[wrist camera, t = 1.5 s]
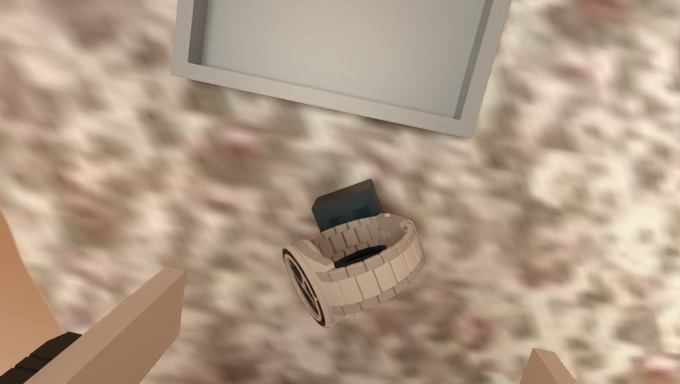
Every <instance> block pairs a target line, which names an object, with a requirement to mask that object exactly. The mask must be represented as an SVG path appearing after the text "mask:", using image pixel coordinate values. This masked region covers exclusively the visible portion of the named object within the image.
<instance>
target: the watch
mask: <svg viewBox="0 0 680 384" xmlns="http://www.w3.org/2000/svg"><path fill="white" fill-rule="evenodd" d="M312 212H313V214H314V217H315V219H316V222H317V224H318V227H319V229H320V231H321V233H319V234H317V235H315V236H314V237H312V238H310V239H309V240H306V239H301V240H299V241H297V242H295V243H293V244H291V245H286V246H284V247H283V249H282V251H283V258H284V262H285V265H286V268H287V270H288V273H289V275H290V277H291V280H292V282H293V284H294V286H295V288H296V290H297V292H298V294H299V296H300V298H301V299H302V301H303V303H304V304H305V306H306V308H307V309H308V311H309V312H310V314H311V315H312V316H313V318H314V319H315V320H316V321H317V322H318V323H319V324H320V325H321V326H322V327H324V328H326V327H327V328H331V327H333V326H335V325H336V324H337V323H338V322H339V321H344V320H348V319H350V318H352V317H353V316H354V313H356V312H359V311H361V310H366V309H369V308H371V307H374V306H376V305H378V304H379V302H380V303H383V302H385V301H387V300H389V299H390V298H392V297H394V296H395V295H396V294H399V293H400V292H402V291H403V290H404V289H405V288H407V287H408V286H409V284H410V283H412V282H413V281H414V280H415V279H416V277H417V276H418V275H419V273H420V272H421V270H422V268H423V265H424V257H423V254H424V253H423V249H422V245H421V242H420V239H419V236H418V233H417V231H416V228H415V226H414V224H413V222H412V221H411V220H409V219H407V218H405V217H402V216H399V215H395V214H390V213H383V211H382V208H381V206H380V203H379V200H378V197H377V195H376V192H375V189H374V187H373V184H372V181H371V179H368V180H365V181H363V182H360V183H357V184H354V185H351V186H349V187H346V188H343V189H340V190H337V191H335V192H332V193H329V194H326V195H324V196H321V197H318V198H317V199H316V201H315V203H314V205H313V207H312ZM333 263H334V264H333ZM334 267H335V268H336V269H333V270H332V268H334ZM372 269H373V270H372ZM373 271H374V272H373ZM374 274H375V275H374ZM375 277H376V278H375ZM376 279H377V280H376ZM356 280H357V281H356ZM377 282H378V283H377ZM378 284H379V285H378ZM358 285H359V286H358ZM379 287H380V288H379ZM360 290H361V291H360ZM362 295H363V296H362ZM377 297H378V298H377ZM378 300H379V301H378ZM359 302H360V303H359ZM361 307H362V308H361Z"/></svg>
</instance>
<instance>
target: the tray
mask: <svg viewBox="0 0 680 384" xmlns="http://www.w3.org/2000/svg"><path fill="white" fill-rule="evenodd" d="M510 2H511V0H178V6H177V17H176V28H175V39H174V49H173V60H172V71H171V75H173V76H178V77H182V78H187V79H192V80H196V81H201V82H206V83H211V84H215V85H220V86H225V87H229V88H234V89H239V90H244V91H248V92H253V93H258V94H262V95H267V96H272V97H276V98H281V99H286V100H291V101H295V102H300V103H305V104H309V105H314V106H319V107H324V108H328V109H333V110H338V111H342V112H347V113H352V114H357V115H361V116H366V117H371V118H375V119H380V120H385V121H389V122H394V123H399V124H404V125H408V126H413V127H418V128H422V129H427V130H432V131H437V132H441V133H446V134H451V135H455V136H460V137H465V138H470V139H471V137H472V134H473V130H474V127H475V123H476V120H477V116H478V113H479V109H480V106H481V102H482V99H483V96H484V92H485V89H486V85H487V82H488V78H489V75H490V71H491V68H492V64H493V61H494V57H495V54H496V51H497V47H498V44H499V40H500V37H501V33H502V30H503V26H504V23H505V19H506V16H507V12H508V9H509V6H510Z"/></svg>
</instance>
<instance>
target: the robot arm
mask: <svg viewBox="0 0 680 384" xmlns="http://www.w3.org/2000/svg"><path fill="white" fill-rule="evenodd" d="M185 276H186V271H185V270H180V269H176V268H171V267H167V266H166V267H165V268H164V269H162V270H161V271H160V272H159V273H158V274H156V275H155V276H154V277H153V278H151V279H150V280H149V281H148V282H147V283H145V284H144V285H143V286H142V287H140V288H139V289H138V290H137V291H136V292H134V293H133V294H132V295H131V296H130V297H128V298H127V299H126V300H125V301H123V302H122V303H121V304H120V305H119V306H117V307H116V308H115V309H114V310H112V311H111V312H110V313H109V314H108V315H106V316H105V317H104V318H103V319H102V320H100V321H99V322H98V323H97V324H95V325H94V326H93V327H92V328H91V329H89V330H88V331H87V332H86V333H84V334H83V335H81V334H77V333H73V332H67V333H65V334H63V335H60V336H58V337H56V338H53V339H51V340H49V341H47V342H46V343H44V344H43V345H42V346H40V347H39V348H38V349H36V350H35V351H34V352H33V353H31V354H30V356H29V357H26V358H24V359H23V360H22V361H20V362H19V363H18V364H16V365H15V367H14V368H11V369H10V370H8V371H7V372H6V373H5V374H3V375H2V376H0V384H139V383H140V382H141V381H142V379H143V378H144V377H145V376H146V374H147V373H148V372H149V371H150V369H151V368H152V367H153V366H154V365H155V363H156V362H157V361H158V360H159V358H160V357H161V356H162V355H163V353H164V352H165V351H166V350H167V348H168V347H169V346H170V345H171V343H172V342H173V341H174V340H175V338H176V337H177V336H178V335H179V330H180V321H181V312H182V303H183V294H184V285H185ZM520 384H577V382H576V381H575V380H574V378H573V377H572V376H571V374H570V373H569V372H568V370H567V369H566V368H565V366H564V365H563V364H562V362H561V361H560V360H559V358H558V357H557V356H556V354H555V353H554V352H550V351H546V350H541V349H537V348H533V350H532V353H531V356H530V358H529V361H528V363H527V366H526V368H525V371H524V374H523V376H522V379H521V381H520Z"/></svg>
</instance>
